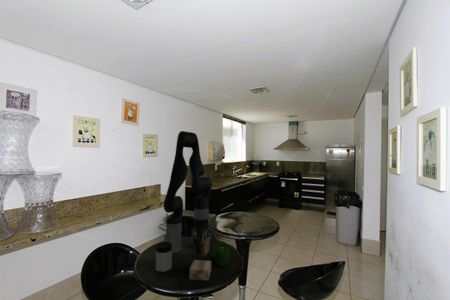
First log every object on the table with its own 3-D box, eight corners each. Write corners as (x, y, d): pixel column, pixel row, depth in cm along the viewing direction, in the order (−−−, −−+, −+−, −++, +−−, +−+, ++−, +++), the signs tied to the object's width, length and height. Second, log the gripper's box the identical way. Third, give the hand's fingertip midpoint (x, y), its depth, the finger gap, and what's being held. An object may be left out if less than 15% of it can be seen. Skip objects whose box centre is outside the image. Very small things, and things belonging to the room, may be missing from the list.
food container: (212, 246, 140) (213, 230, 141) (211, 250, 134) (211, 234, 134) (194, 245, 142) (194, 229, 142) (192, 249, 135) (192, 233, 136)
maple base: (189, 279, 103) (189, 269, 103) (194, 269, 112) (194, 259, 112) (207, 280, 102) (208, 270, 102) (211, 270, 111) (211, 261, 111)
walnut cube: (193, 254, 105) (193, 241, 105) (198, 249, 111) (198, 237, 111) (204, 255, 104) (204, 243, 104) (209, 250, 109) (209, 238, 109)
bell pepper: (218, 259, 123) (218, 241, 123) (231, 262, 120) (231, 244, 120) (211, 266, 115) (211, 247, 115) (225, 269, 112) (226, 250, 112)
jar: (151, 270, 110) (152, 246, 111) (161, 262, 118) (161, 240, 118) (166, 273, 108) (167, 249, 108) (175, 265, 116) (175, 242, 116)
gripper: (200, 212, 116) (199, 244, 115) (188, 220, 102) (187, 256, 101) (213, 213, 114) (213, 245, 113) (202, 221, 100) (202, 258, 99)
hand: (201, 250), depth 107 cm, fingers closed on walnut cube, 6 cm apart
